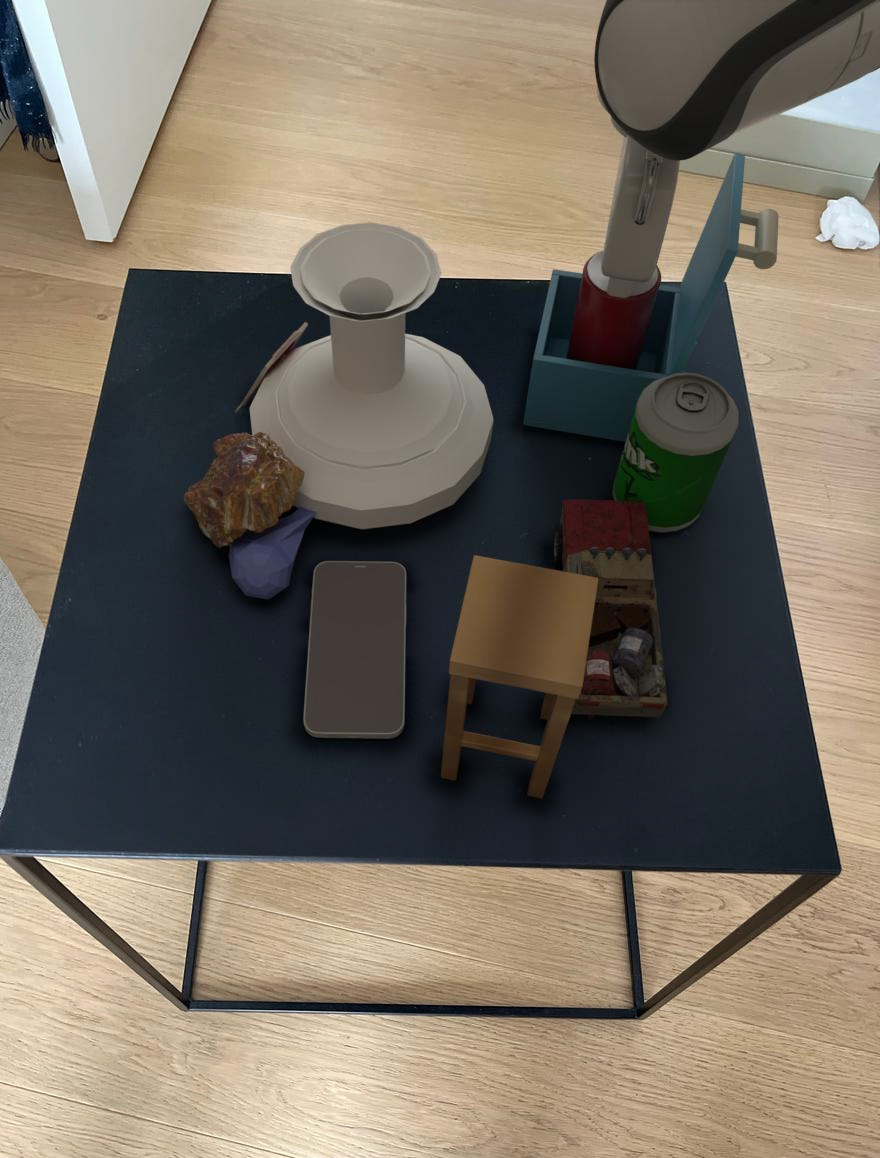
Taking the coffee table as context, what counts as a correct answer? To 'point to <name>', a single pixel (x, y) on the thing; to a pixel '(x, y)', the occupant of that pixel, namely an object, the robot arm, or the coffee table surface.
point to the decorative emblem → (273, 363)
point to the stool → (519, 654)
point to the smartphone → (356, 651)
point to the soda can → (676, 448)
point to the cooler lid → (720, 258)
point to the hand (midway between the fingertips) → (625, 250)
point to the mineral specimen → (243, 487)
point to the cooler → (593, 368)
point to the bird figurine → (268, 555)
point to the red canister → (610, 319)
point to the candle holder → (373, 387)
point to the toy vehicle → (616, 606)
